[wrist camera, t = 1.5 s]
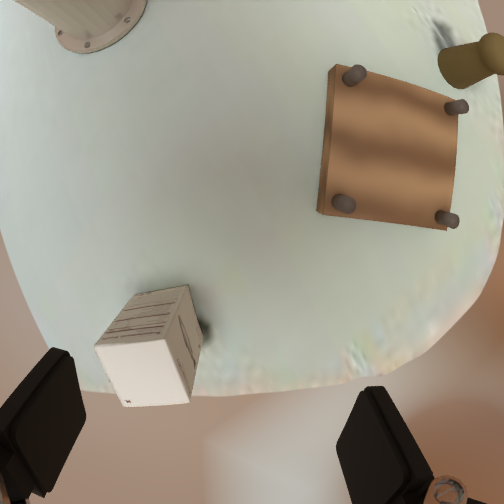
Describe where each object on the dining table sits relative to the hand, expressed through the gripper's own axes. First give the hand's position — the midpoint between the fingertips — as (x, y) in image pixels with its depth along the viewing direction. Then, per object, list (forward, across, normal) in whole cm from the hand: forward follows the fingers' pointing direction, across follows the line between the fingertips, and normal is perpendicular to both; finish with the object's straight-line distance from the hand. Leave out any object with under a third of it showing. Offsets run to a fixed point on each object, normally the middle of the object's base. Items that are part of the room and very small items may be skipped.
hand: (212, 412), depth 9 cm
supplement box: (+27, +7, +11) cm, 30 cm away
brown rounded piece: (+27, -26, -27) cm, 46 cm away
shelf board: (+26, -16, -12) cm, 33 cm away
